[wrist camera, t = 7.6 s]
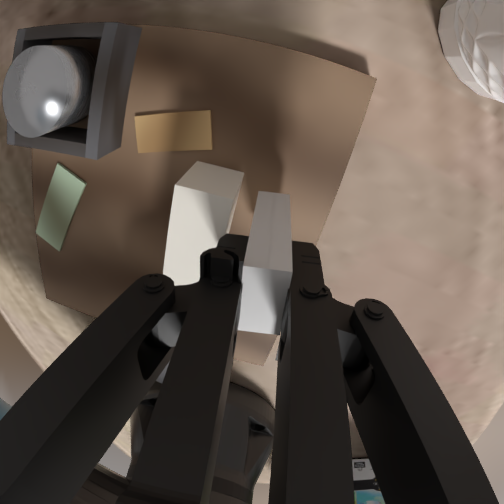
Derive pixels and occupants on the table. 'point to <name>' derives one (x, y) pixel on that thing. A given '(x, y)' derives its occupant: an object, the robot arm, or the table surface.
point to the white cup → (475, 44)
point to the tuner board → (181, 149)
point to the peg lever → (198, 220)
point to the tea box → (365, 483)
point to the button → (48, 88)
